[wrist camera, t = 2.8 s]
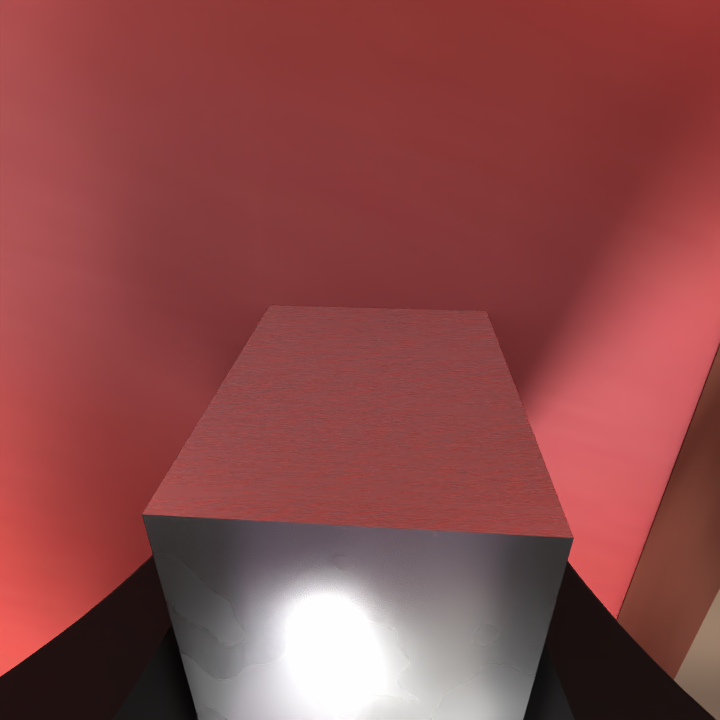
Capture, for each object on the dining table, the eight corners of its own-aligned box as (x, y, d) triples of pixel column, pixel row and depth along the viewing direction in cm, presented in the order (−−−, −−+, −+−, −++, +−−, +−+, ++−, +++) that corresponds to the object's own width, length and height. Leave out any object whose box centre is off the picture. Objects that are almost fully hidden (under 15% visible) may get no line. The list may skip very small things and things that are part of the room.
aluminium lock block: (452, 575, 14) (482, 864, 9) (293, 565, 14) (231, 839, 9) (486, 310, 10) (574, 538, 5) (269, 304, 11) (142, 513, 5)
